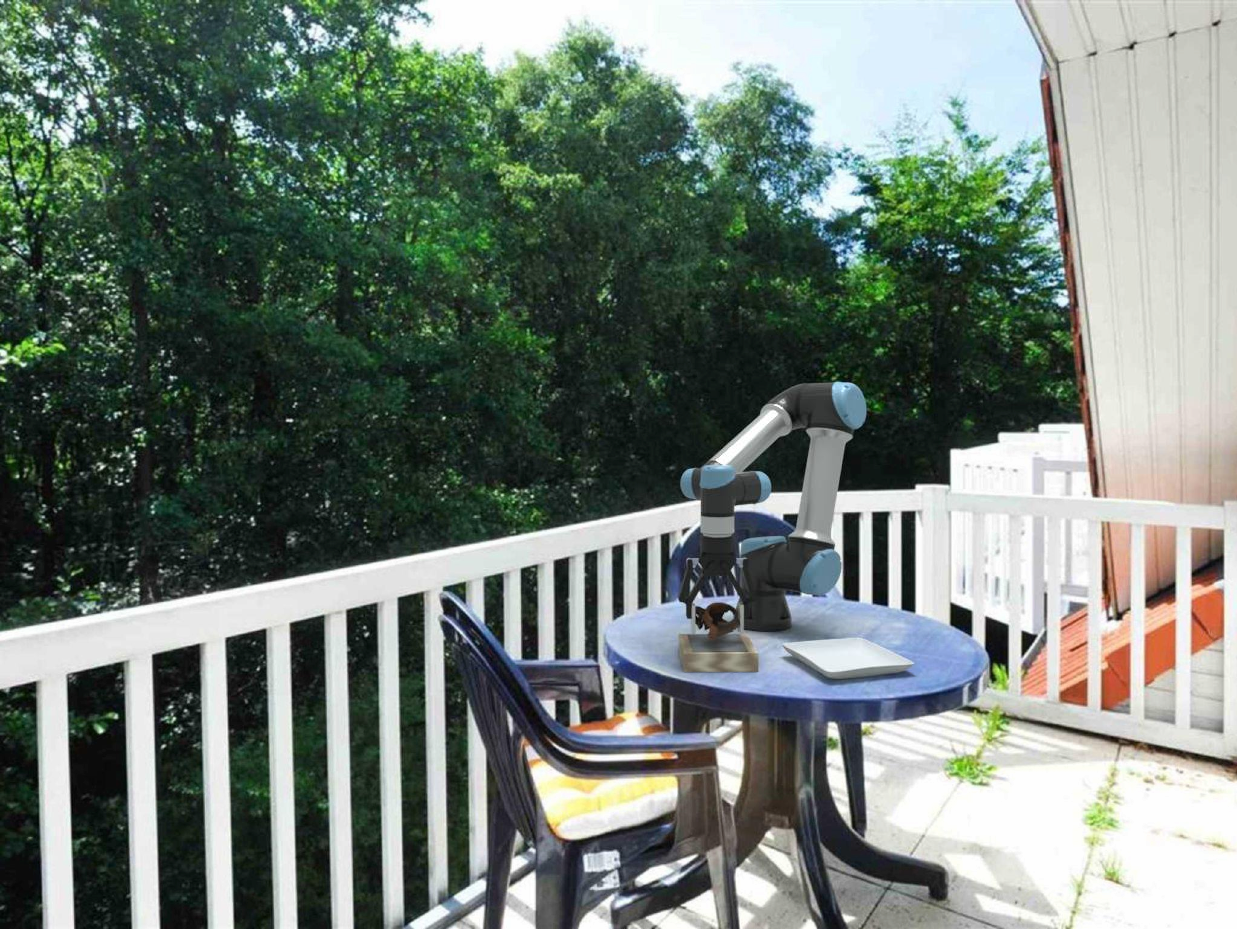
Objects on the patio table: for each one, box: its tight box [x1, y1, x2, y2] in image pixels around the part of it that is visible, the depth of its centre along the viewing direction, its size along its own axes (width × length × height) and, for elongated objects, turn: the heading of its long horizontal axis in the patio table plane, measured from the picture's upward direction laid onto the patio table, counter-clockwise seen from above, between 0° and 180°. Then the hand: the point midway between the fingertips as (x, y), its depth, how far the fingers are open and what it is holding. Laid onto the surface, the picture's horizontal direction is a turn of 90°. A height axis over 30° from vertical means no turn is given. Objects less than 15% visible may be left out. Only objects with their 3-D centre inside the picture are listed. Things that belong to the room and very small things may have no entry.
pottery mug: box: [695, 601, 740, 640], centre depth 188 cm, size 12×10×8 cm
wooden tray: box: [677, 633, 760, 673], centre depth 187 cm, size 16×16×4 cm
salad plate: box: [781, 637, 915, 680], centre depth 183 cm, size 21×21×3 cm
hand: (717, 632), depth 187 cm, fingers closed on pottery mug, 10 cm apart
